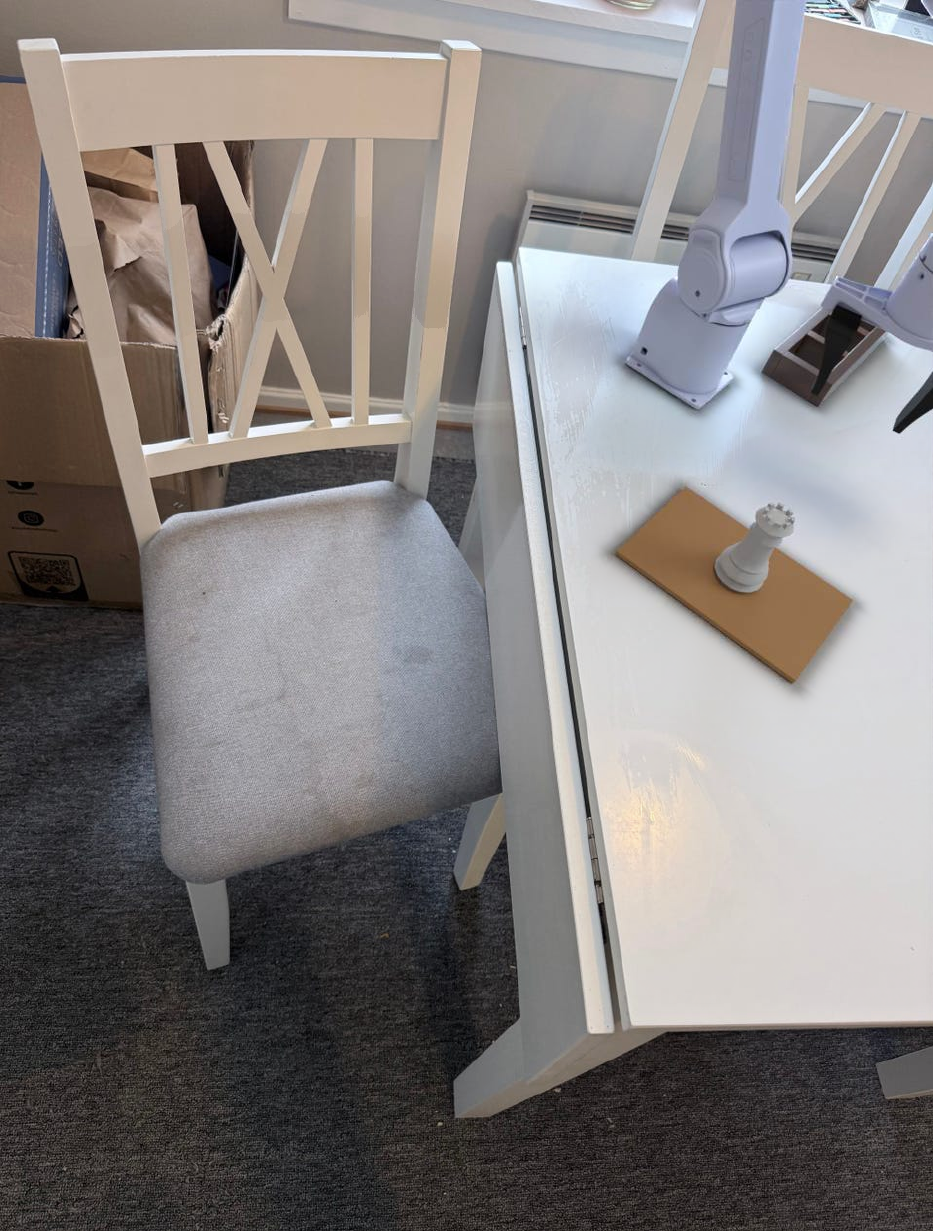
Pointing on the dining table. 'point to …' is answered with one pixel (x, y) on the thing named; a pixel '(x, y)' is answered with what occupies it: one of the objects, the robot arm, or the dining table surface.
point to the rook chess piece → (754, 550)
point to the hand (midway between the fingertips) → (856, 407)
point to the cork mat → (758, 621)
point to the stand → (818, 357)
